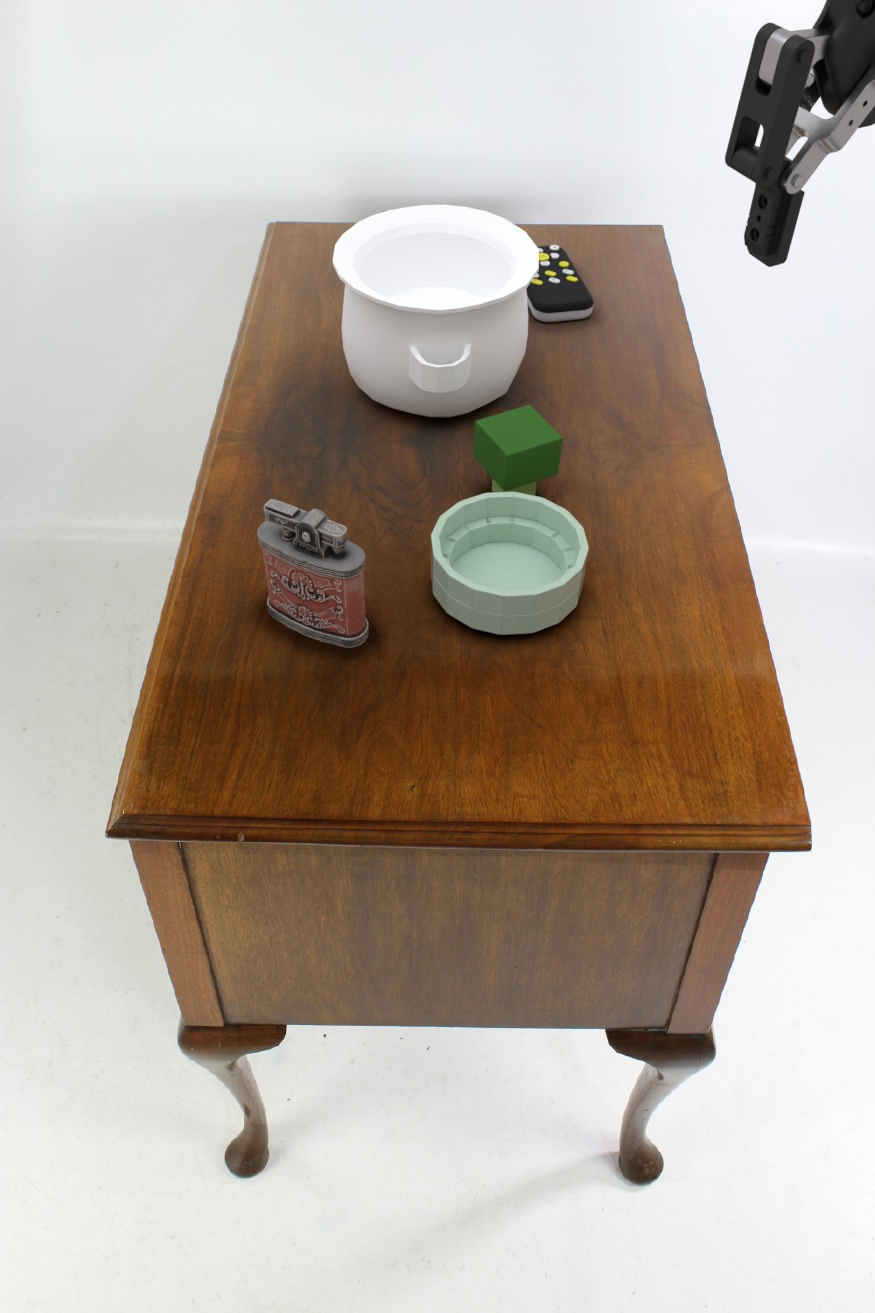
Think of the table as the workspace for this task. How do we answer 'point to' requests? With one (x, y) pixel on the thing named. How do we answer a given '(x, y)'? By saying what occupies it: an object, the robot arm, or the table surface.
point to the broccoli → (517, 449)
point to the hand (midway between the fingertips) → (831, 241)
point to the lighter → (313, 575)
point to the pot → (435, 306)
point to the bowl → (508, 562)
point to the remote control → (557, 288)
